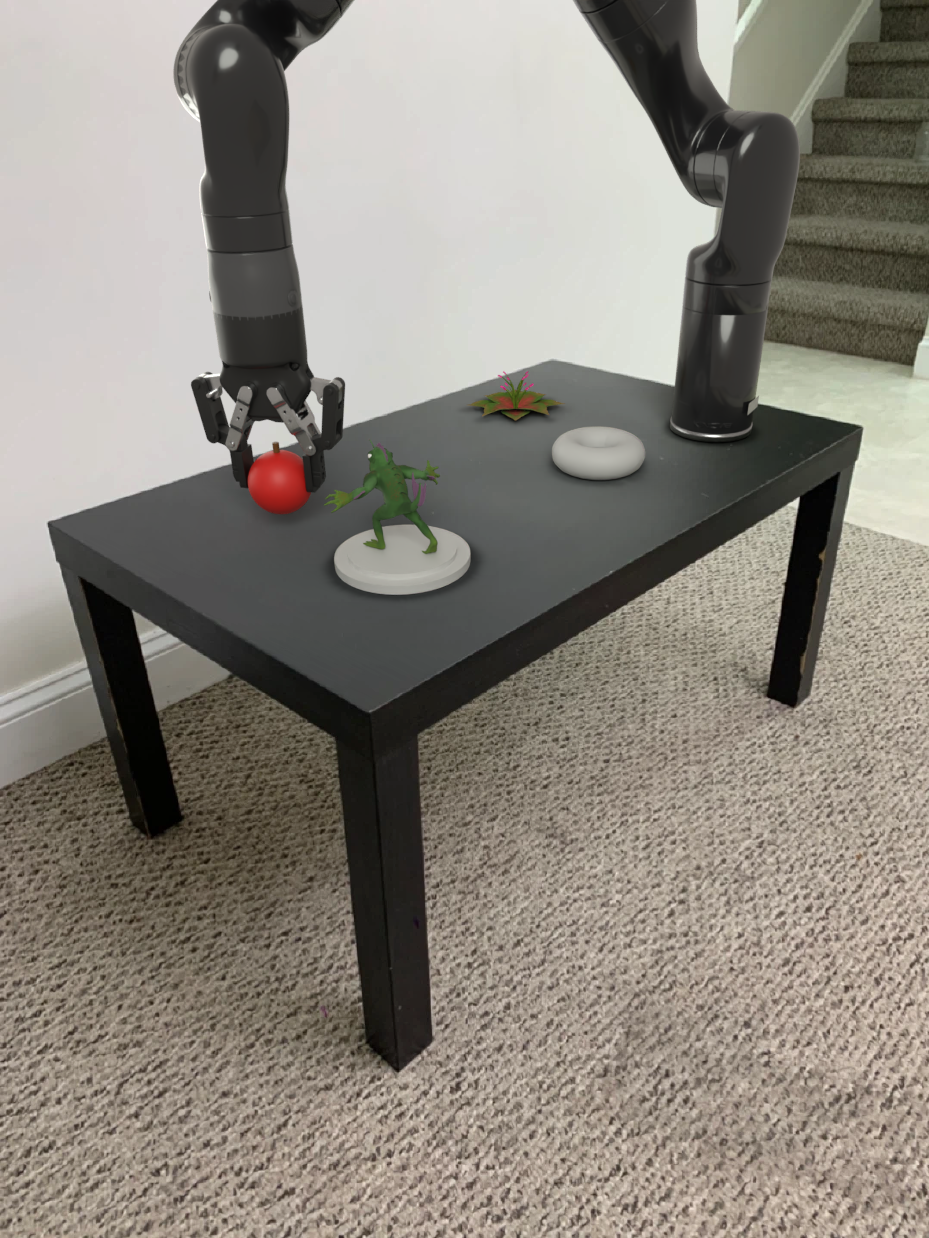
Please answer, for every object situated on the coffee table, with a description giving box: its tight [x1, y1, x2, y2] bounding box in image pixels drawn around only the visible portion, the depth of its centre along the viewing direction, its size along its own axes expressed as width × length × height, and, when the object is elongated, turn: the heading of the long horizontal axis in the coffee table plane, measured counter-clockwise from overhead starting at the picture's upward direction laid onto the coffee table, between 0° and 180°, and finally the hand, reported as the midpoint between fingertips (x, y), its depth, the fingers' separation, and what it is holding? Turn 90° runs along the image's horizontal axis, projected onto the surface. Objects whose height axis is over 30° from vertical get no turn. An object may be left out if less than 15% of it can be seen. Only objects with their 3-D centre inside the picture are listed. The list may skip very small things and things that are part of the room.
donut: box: [551, 425, 646, 481], centre depth 101 cm, size 10×3×10 cm
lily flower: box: [467, 370, 566, 421], centre depth 118 cm, size 12×12×5 cm
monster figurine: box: [323, 438, 472, 596], centre depth 81 cm, size 12×12×10 cm
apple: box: [247, 441, 312, 515], centre depth 88 cm, size 6×6×7 cm
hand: (280, 486), depth 88 cm, fingers closed on apple, 6 cm apart
